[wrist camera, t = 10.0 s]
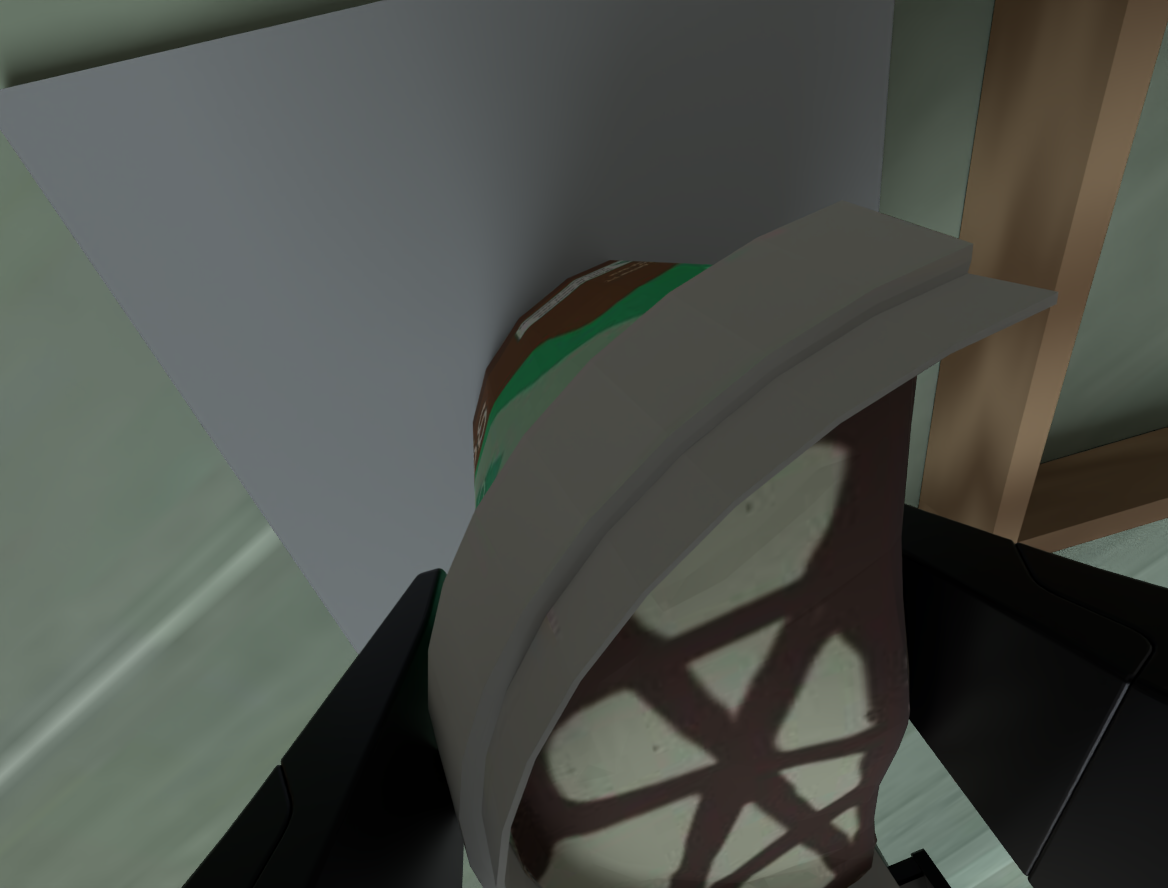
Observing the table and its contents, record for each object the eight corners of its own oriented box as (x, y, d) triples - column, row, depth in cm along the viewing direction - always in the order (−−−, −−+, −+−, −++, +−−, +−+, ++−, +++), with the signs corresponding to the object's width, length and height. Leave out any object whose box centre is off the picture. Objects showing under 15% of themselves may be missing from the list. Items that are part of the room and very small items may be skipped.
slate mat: (843, 540, 19) (853, 551, 19) (385, 675, 19) (382, 689, 18) (882, -107, 10) (903, -121, 10) (4, 98, 10) (-24, 94, 9)
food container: (332, 275, 11) (-1, 591, 2) (596, 194, 12) (1081, 205, 3) (512, 639, 17) (603, 1097, 8) (677, 570, 18) (914, 926, 9)
